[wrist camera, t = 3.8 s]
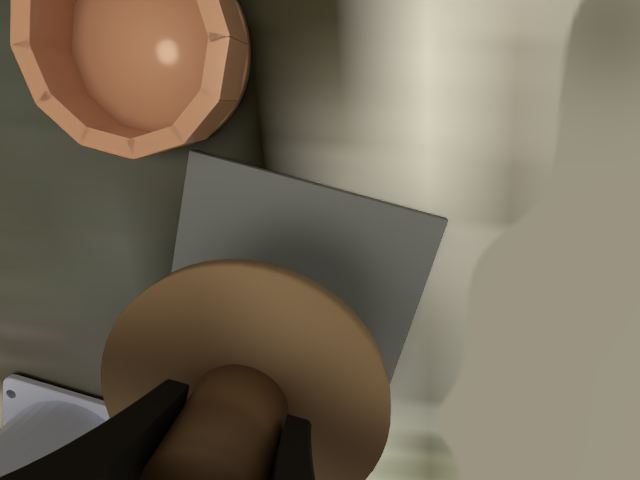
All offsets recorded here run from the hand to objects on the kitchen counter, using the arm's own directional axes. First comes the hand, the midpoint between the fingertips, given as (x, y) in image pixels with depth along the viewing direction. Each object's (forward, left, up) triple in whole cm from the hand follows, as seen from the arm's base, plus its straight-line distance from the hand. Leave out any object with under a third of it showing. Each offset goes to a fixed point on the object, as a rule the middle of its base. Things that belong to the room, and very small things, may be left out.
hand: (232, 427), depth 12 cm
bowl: (+9, +8, -8) cm, 14 cm away
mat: (0, 0, -8) cm, 8 cm away
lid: (0, 0, -1) cm, 1 cm away
